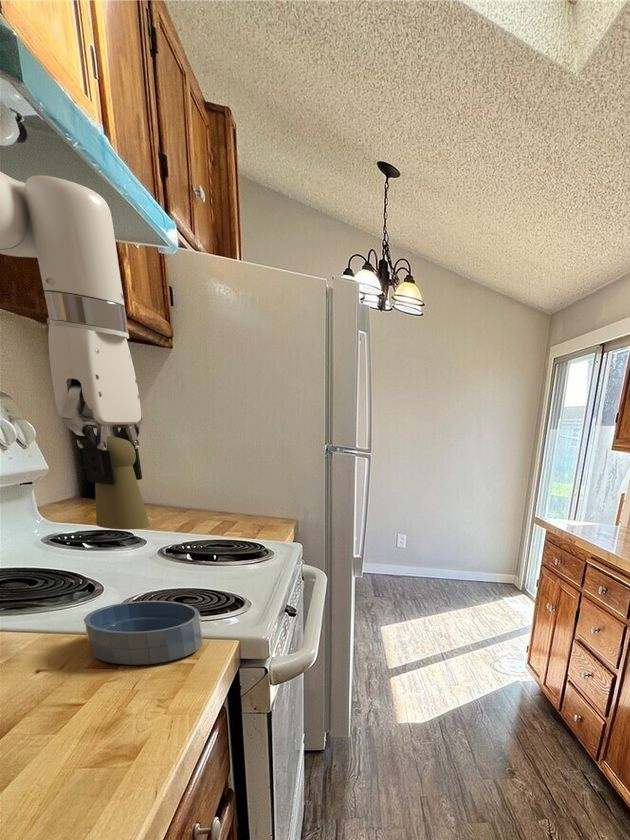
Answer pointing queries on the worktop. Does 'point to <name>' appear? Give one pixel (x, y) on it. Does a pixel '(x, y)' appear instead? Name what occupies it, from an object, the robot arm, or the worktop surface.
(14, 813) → the worktop surface
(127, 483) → the olive pawn
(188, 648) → the bowl
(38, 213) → the robot arm
